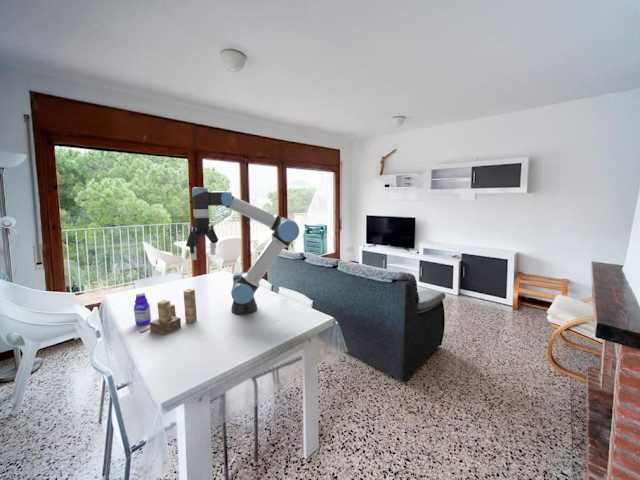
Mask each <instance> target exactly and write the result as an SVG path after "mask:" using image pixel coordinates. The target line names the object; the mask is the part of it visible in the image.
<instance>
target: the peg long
mask: <svg viewBox="0 0 640 480" xmlns="http://www.w3.org/2000/svg"><path fill="white" fill-rule="evenodd" d="M196 300H197V299H196V290H195V289H193V288H192V289H191V288H188V289H186V290H183V303H184V315H185V323H186V324H193V323H196V322H198V317H197V302H196Z"/></svg>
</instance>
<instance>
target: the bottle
mask: <svg viewBox="0 0 640 480" xmlns="http://www.w3.org/2000/svg"><path fill="white" fill-rule="evenodd" d="M150 306H151V305H150V303H149V302H148V298H147V297H146V293H145V291H139V292H136V293H135V301H134V306H133V313H134V321H135V324H136V325H137V326H145V325H150V322H152V316H151V315H152V313H151V309H150V308H151V307H150Z"/></svg>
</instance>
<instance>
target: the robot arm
mask: <svg viewBox="0 0 640 480" xmlns="http://www.w3.org/2000/svg"><path fill="white" fill-rule="evenodd" d="M191 195H192V196H191V199H192V209H193V212H192V213H193V217H194V218H193V224H194V226H195V227H190V228H189V229H190V231H189V234H188V237H187V241H186V244H185V246H186V247H188V248H189V253H190V256H191V258H190V259H191V260H193V261H197V248H196V245H197V242H198V240H199V238H200V237H201V236H204V235H205V236H206V238H207V239H208V240H209V242H210V243H209V247H210V249H209V250H210V255H212V256H216V255H217V253H216V249H217V247H216V246H217V243H218V241H219V238H218V236H217V234H216V231H215V228H214V225H212V224H211V225H210V208H209V207H210V206H211V207H212V206H215V207H218V206H219V207H225V208H227V209H229V210H231V211H234V212H236V213H238V214H240V215H243V216H245V217H247V218H249V219H250V220H253V221H255V222H257V223H260V224H261V225H265V226H266V227H268V228H269V230H271V231H273V232H272V233H271V239H270V240H269V242H268V243H267V245H266V246H265V248H264V249H263V250H262V251H261V253H260V254H259V256H258V257H257V258H256V260H255V261H254V262H253V264H252V265H251V266H250V268H249V269H248V270H247V272H236V273H234V274H233V275H232V280H233V281H232V283H233V284H232V287H231V290H230V291H231V292H230V294H231V299H232V300H233V301H232V305H231V313H233V314H235V315H249V314H252V313H254V312H257V310H258V304H257V301H256V299H255V297H254V296H255V295H254V294H255V293H256V291H257V290H258V289H259V287H260V281H261V280H262V279H263V277H264V276H265V275H266V273H267V272H268V271H269V270H270V268H271V266H272V265H273V263H275V261H276V260H277V258H278V257H279V256H280V254H281V252H283V250H284V249H285V248H289V246H291V244H292V242H294V241H295V240H297V238H298V237H299V235H300V227H299V225H298V224H297V222H295V221H294V220H293V219H291V218H286V217H284V216H281V215H278V214H273V213H271V212H268V211H266V210H264V209H263V208H262V209H261V208H260V207H258V206H255V205H254V204H251V203H249V202H247V201H245V200H242V199H240V198H238V197H236V196H234V195H233V193H232V192H231V191H228V190H227V191H226V190H220V191H219V190H218V191H215V190H213V191H210V190H209V189H208V187H202V186H201V187H200V186H199V187H196V186H195V187H193V188H192V193H191Z"/></svg>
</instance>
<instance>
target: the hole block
mask: <svg viewBox="0 0 640 480" xmlns="http://www.w3.org/2000/svg"><path fill="white" fill-rule="evenodd" d="M149 327H150V332H151V333H153V334H154V333H155V334H158V335H163V336H165V335H168V334H170V333H172V332H174V331H176V330H177V329H179V328H182V322H181V317H177V316H176V317H173V316H171V320H170V321H168V322H166V323H162V322H159V318H157V319H154V320H151V321H150V323H149Z"/></svg>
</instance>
